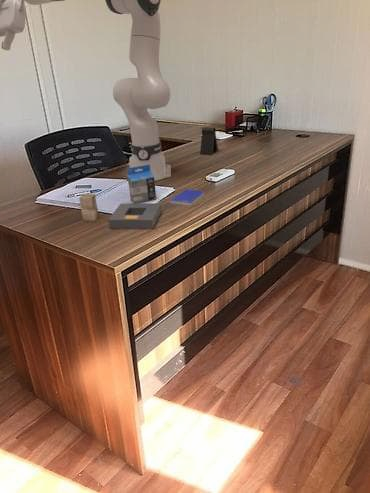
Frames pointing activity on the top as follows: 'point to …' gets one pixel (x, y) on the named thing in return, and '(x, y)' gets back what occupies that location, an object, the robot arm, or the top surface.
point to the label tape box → (141, 184)
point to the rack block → (135, 216)
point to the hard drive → (187, 197)
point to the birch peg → (89, 207)
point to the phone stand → (208, 141)
